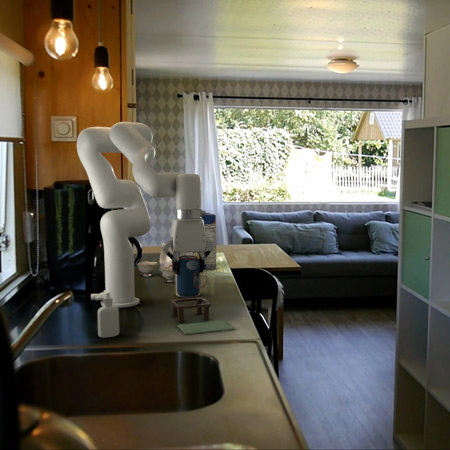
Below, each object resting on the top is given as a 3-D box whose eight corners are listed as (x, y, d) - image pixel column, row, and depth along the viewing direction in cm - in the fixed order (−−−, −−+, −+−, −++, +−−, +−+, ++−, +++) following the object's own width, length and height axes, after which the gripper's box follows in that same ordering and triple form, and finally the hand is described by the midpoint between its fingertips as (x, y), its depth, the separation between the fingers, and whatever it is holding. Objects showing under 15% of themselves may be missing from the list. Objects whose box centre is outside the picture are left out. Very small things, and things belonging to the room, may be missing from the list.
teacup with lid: (177, 298, 225) (176, 265, 224) (173, 293, 234) (172, 261, 232) (211, 296, 228) (210, 263, 227) (206, 291, 237) (205, 259, 236)
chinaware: (130, 279, 268) (125, 240, 265) (161, 270, 281) (157, 232, 277) (174, 288, 250) (169, 246, 247) (205, 278, 262) (202, 238, 259)
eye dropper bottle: (99, 334, 180) (97, 291, 179) (119, 333, 181) (118, 291, 180) (97, 338, 176) (96, 295, 174) (118, 337, 177) (117, 294, 175)
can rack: (178, 323, 192) (177, 306, 191) (170, 315, 201) (170, 299, 200) (211, 320, 195) (211, 303, 195) (202, 312, 205) (201, 297, 204)
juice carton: (192, 266, 292) (192, 213, 289) (209, 265, 294) (208, 212, 292) (199, 270, 280) (199, 215, 278) (216, 269, 283) (215, 214, 281)
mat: (185, 334, 179) (185, 333, 179) (177, 326, 189) (177, 324, 189) (233, 329, 185) (233, 328, 184) (223, 321, 194) (223, 320, 194)
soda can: (200, 297, 195) (200, 258, 194) (177, 298, 194) (177, 258, 192) (199, 292, 202) (199, 254, 200) (176, 293, 201) (176, 255, 199)
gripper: (212, 213, 202) (212, 269, 204) (157, 214, 195) (157, 272, 197) (219, 215, 195) (219, 273, 197) (162, 216, 188) (162, 276, 190)
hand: (188, 272), depth 197 cm, fingers closed on soda can, 7 cm apart
